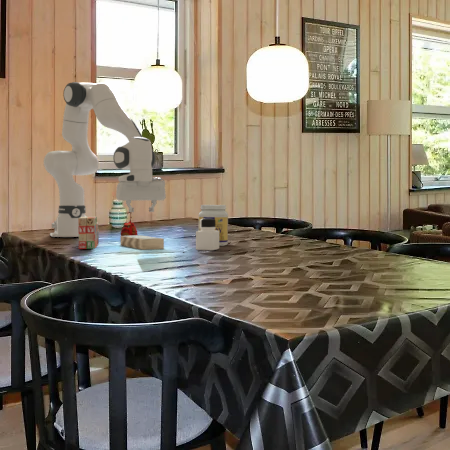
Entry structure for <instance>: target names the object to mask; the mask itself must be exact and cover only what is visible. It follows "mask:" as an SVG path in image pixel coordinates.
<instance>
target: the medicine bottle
mask: <svg viewBox="0 0 450 450" xmlns="http://www.w3.org/2000/svg"><path fill="white" fill-rule="evenodd" d="M200 229H201V231H199V230H196V231H195V250H196V251H215V250H219V249H220V246H219V231H217V230H215V219H212V218H204V219H201V220H200Z"/></svg>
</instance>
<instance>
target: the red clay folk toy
mask: <svg viewBox="0 0 450 450" xmlns="http://www.w3.org/2000/svg"><path fill="white" fill-rule="evenodd" d="M132 213H133V212H129V211H126V214H129V222H124V223H123V227H122V229H121V230H120V237H121V236H132V235H138V230H137V226H135V223H134V222H132Z"/></svg>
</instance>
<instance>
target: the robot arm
mask: <svg viewBox="0 0 450 450" xmlns="http://www.w3.org/2000/svg"><path fill="white" fill-rule="evenodd" d="M62 96H63V100H64V102H65V107H64V112H63V116H62V117H63V119H62V120H63V121H62V129H61V130H62V131H61V136H62V138H63V140H64V141H66V142H67V143H68V144H70V145H71V150H53V151H49V152H47V153H46V154H45V156H44V158H43V166H44V169H45V171H46V172H47V173H49V175H51V177H52V178H53V179H54V180H55V182H56V184H57V187H58V194H59V205H58V208H57V209H58V216H57V217H56V219H55V220H54V222H51V228H52V229H53V230H54V232H50V233H49V236H51V237H52V238H55V237H57V238H59V237H60V238H74V237H76V238H77V237H78V238H79V230H78V226H79V224H78V218H80V217H88V216H87V215H86V210H87V208H86V204H85V189H84V187H83V186H82V185H81V184H79V183H77V182H76V181H75V179H74V176H89V175H90V176H91V175H94V174H95V173H96V172H97V171H98V170H99V166H100V161H99V157H98V156H97V155H96V153H94V152H93V151H92V150H91V147H90V145H89V141H88V131H89V130H88V129H89V120H90V119H89V118H90V117H89V116H90V112H91V110H93V112H94V114H95V117H96V120H97V121H98V122H99V123H100V124H101V125H102V126H104V127H105V128H108V129H110V130H113V131H116V132H119V133H121V134H122V135H124V136H125V138H126V139H127V140H128V142H127V143H125V144H124V145H121V146H119V147H117V148H116V149H115V151H114V152H113V163H114V165H115V167H116V168H118V169H120V170H122V171H123V170H124V171H128V170H129V173H126V174H123V175H120V176H118V182H119V183H117V186H116V193H115V197H116V199H117V201H119V202H121V201H125V204H126V206H127V208H128V212H132V213H134V212H135V207H132V205H131V204H132V201H151V206H149V207H148V211H149V213H154V212H155V207H156V206H157V202H158V201H164V200H165V199H166V197H167V195H166V188H165V187H166V181H165V180H164V179H163V178H162V177H153V168H154V166H155V164H156V160H157V159H156V155H155V152H154V149H153V148H152V142H151V140H150V139H149V138H146V137H144V136H143V135H142V133H141V132H140V130H139V128H138V127H137V124H136V123H135V121H134V120H133V119H132V118H131V117H130V116H129V115H128V114H127V113H126V112H125V110H124V109H123V108H122V106H121V104H120V102H119V100H118V98H117V96H116V94H115V92H114V91H113V88H112V87H111V86H110V85H109V84H107V83H105V82H99V83H93V82H77V81H72V82H68V83H67V84H66V85H65V87H64V89H63V95H62Z"/></svg>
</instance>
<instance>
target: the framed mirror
mask: <svg viewBox="0 0 450 450" xmlns="http://www.w3.org/2000/svg"><path fill="white" fill-rule="evenodd" d="M164 244H165V238H161V237H153V236H148V235H140V234H139V235H132V236H121V235H120V246H123V247H126V248H132V249H138V250H144V251H145V250H161V249H163V250H164V249H165V248H164V247H165V245H164Z"/></svg>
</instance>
